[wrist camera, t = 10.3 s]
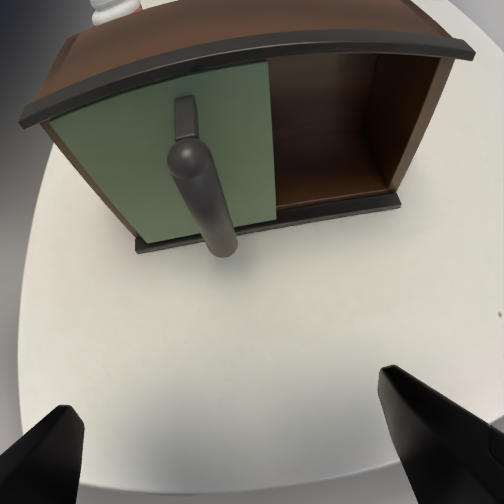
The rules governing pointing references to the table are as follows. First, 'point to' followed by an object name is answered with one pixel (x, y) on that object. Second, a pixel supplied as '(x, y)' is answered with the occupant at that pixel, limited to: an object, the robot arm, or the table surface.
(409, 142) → the cupboard
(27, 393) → the table surface
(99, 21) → the pill bottle
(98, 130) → the sliding door
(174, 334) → the table surface
